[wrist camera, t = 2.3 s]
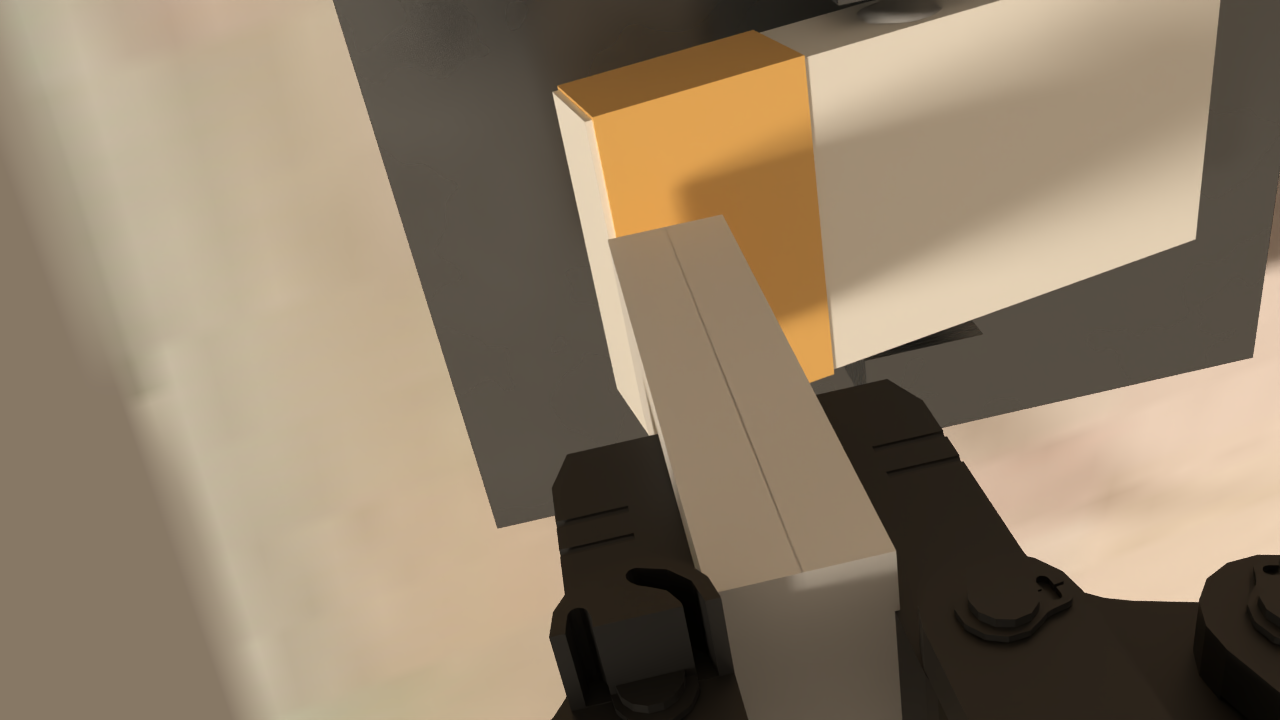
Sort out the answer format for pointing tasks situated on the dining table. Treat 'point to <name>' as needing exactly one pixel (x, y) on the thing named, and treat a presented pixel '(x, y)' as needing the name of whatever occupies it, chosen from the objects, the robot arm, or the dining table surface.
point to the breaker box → (561, 274)
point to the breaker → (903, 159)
